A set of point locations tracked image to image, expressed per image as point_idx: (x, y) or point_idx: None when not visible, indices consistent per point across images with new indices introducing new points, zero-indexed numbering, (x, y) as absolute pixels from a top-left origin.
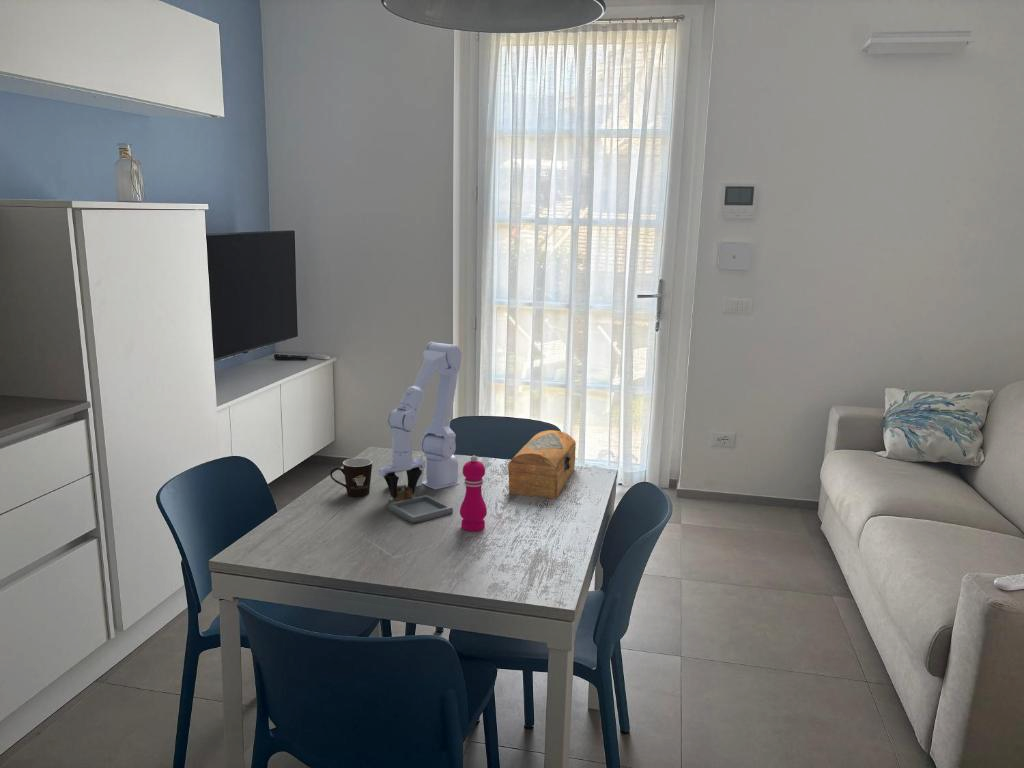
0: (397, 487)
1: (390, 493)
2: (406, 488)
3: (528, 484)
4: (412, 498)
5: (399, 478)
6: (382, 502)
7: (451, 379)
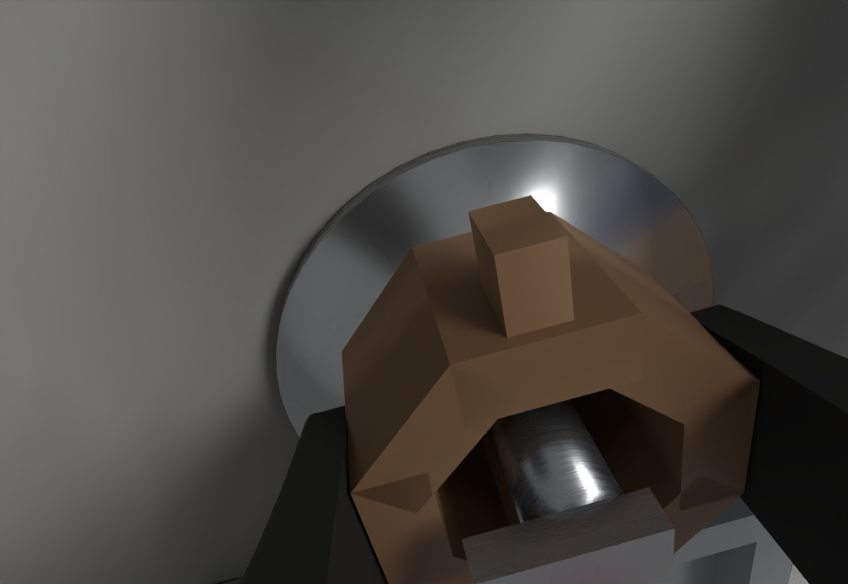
0: (466, 555)
1: (297, 460)
2: (672, 416)
3: None
4: None
5: None
6: (159, 348)
7: None
